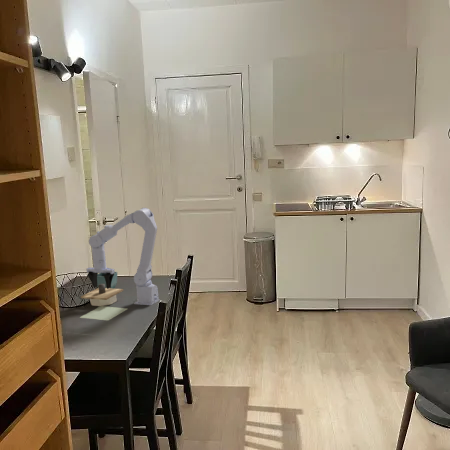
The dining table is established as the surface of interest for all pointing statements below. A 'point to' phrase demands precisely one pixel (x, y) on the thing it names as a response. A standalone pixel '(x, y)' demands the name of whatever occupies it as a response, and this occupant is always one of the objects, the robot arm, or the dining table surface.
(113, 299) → the bowl
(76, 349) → the dining table surface
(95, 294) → the lid
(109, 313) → the mat
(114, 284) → the flower pot
